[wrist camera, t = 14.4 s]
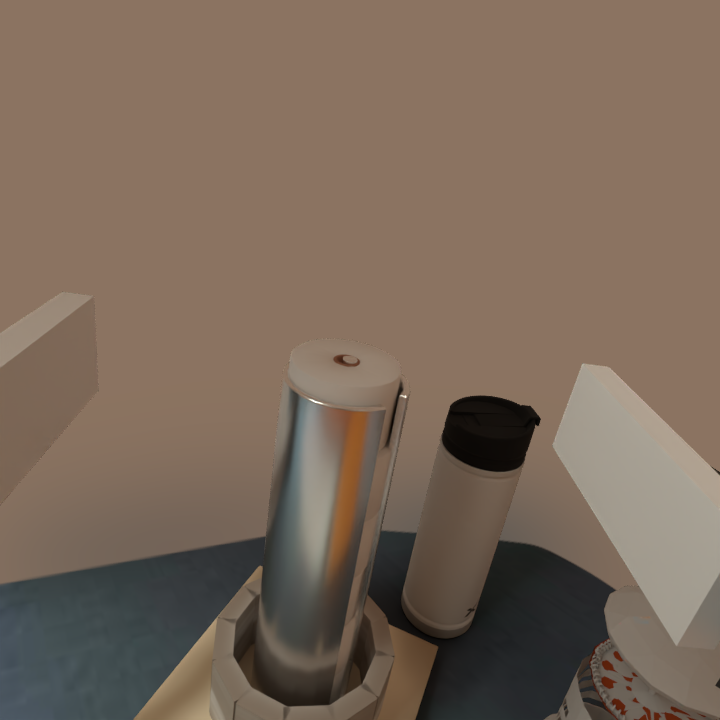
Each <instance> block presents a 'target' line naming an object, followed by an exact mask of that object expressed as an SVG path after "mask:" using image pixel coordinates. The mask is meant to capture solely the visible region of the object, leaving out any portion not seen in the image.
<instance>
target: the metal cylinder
mask: <svg viewBox="0 0 720 720" xmlns="http://www.w3.org/2000/svg"><path fill="white" fill-rule="evenodd" d="M409 396H410V386H409V382H408V381H407V379H406V378H405V376H404V375H403V374H402V372H401V366H400V364H399V362H398V360H397V359H396V358H394V357H393V356H391V355H390V354H388V353H387V352H385V351H383V350H381V349H379V348H377V347H374V346H372V345H369V344H365V343H361V342H358V341H352V340H345V339H316V340H312V341H307V342H305V343H303V344H300V345H299V346H297V347H296V348H294V349H293V350H292V353H291V356H290V362H289V363H288V364H286V366H285V368H284V371H283V374H282V384H281V393H280V403H279V413H278V423H277V432H276V442H275V452H274V462H273V472H272V483H271V492H270V501H269V512H268V522H267V532H266V541H265V551H264V561H263V570H262V580H261V590H260V600H259V610H258V620H257V630H256V640H255V649H254V659H253V669H252V679H251V688H253V689H255V690H257V691H259V692H261V693H263V694H265V695H267V696H268V697H270V698H272V699H274V700H276V701H278V702H280V703H282V704H283V705H285V706H287V707H294V706H321V705H331V704H332V703H334V702H335V701H337V700H338V699H340V698H341V697H343V696H345V695H346V693H347V689H348V684H349V679H350V675H351V670H352V665H353V660H354V656H355V651H356V646H357V641H358V637H359V632H360V627H361V623H362V618H363V613H364V608H365V604H366V599H367V594H368V589H369V585H370V580H371V575H372V571H373V566H374V561H375V556H376V552H377V547H378V542H379V538H380V533H381V528H382V523H383V519H384V514H385V509H386V504H387V500H388V495H389V490H390V486H391V481H392V476H393V471H394V467H395V462H396V457H397V452H398V447H399V443H400V438H401V434H402V428H403V424H404V419H405V415H406V410H407V405H408V401H409Z"/></svg>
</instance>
